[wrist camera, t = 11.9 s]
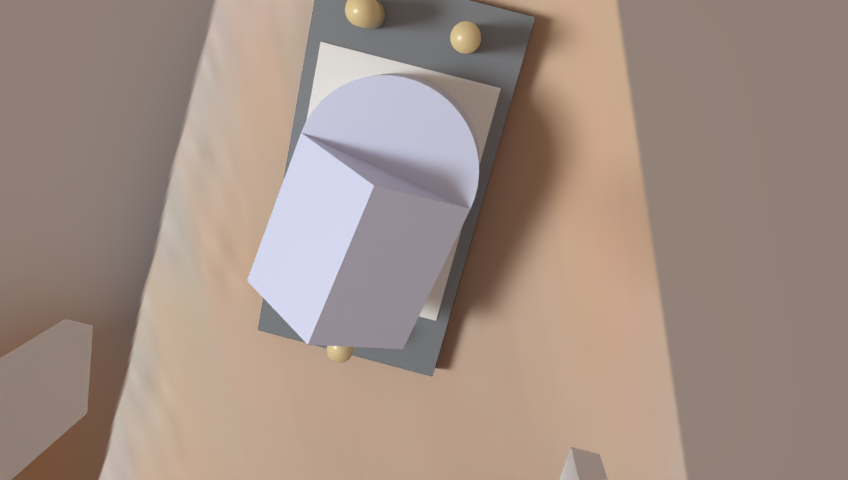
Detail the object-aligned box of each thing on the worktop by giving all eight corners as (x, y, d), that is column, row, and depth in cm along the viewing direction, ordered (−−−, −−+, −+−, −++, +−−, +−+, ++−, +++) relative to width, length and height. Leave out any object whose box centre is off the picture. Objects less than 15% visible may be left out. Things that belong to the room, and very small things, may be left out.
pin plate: (433, 368, 37) (428, 404, 33) (263, 322, 37) (238, 353, 33) (533, 18, 30) (541, 12, 26) (326, -36, 30) (303, -49, 26)
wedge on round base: (410, 322, 35) (508, 117, 31) (393, 382, 28) (515, 133, 24) (269, 260, 34) (349, 44, 30) (220, 306, 28) (313, 41, 24)
